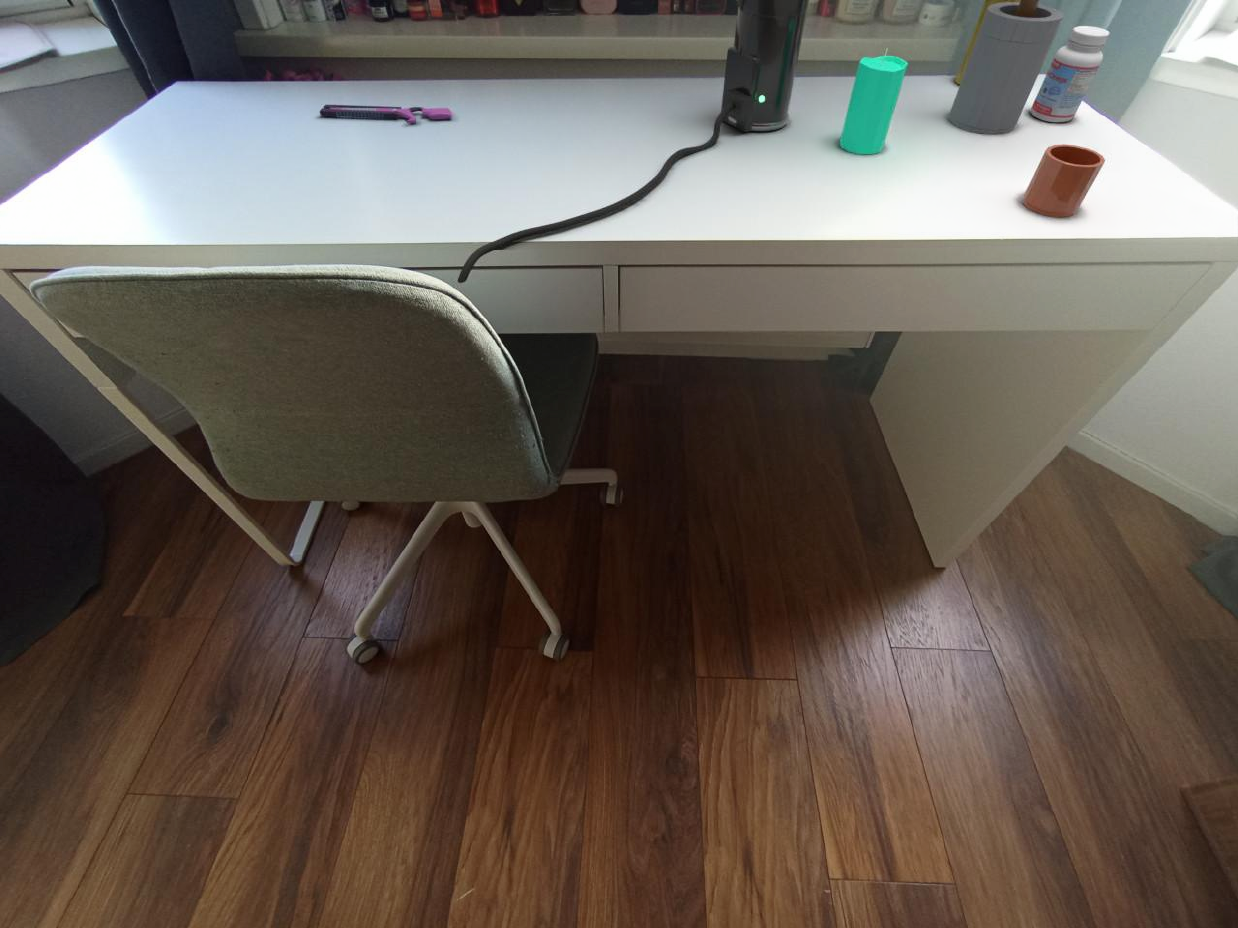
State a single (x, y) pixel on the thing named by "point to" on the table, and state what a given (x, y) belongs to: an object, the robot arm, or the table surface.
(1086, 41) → the pill bottle
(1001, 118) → the gray cylindrical container
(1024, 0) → the bottle brush
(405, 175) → the table surface
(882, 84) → the candle
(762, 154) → the table surface
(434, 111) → the pink toy gun
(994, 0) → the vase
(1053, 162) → the holder
